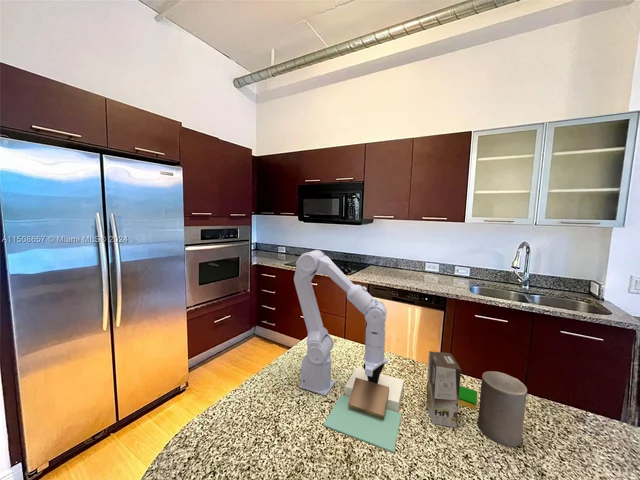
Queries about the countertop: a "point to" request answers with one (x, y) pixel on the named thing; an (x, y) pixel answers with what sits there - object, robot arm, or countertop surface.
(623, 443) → the countertop surface
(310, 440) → the countertop surface
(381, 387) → the walnut coaster
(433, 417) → the coffee box
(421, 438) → the countertop surface
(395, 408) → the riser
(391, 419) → the sage mat
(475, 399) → the dish sponge
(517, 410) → the pillar candle
